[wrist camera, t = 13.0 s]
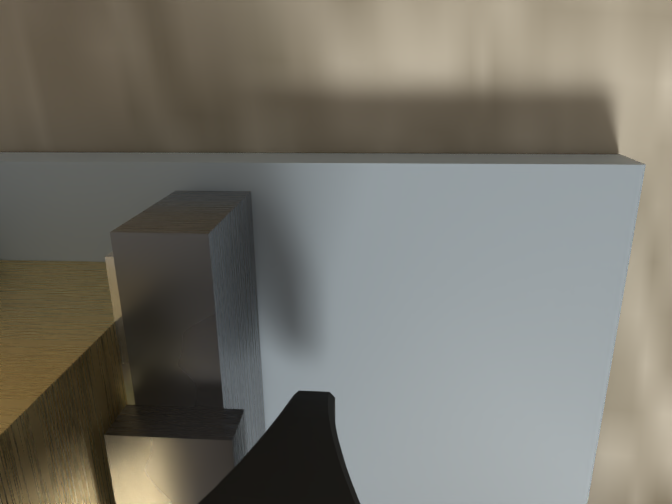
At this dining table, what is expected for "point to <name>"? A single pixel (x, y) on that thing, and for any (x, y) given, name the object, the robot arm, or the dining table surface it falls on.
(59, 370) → the brass block
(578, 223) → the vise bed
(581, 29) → the dining table surface
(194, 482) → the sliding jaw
